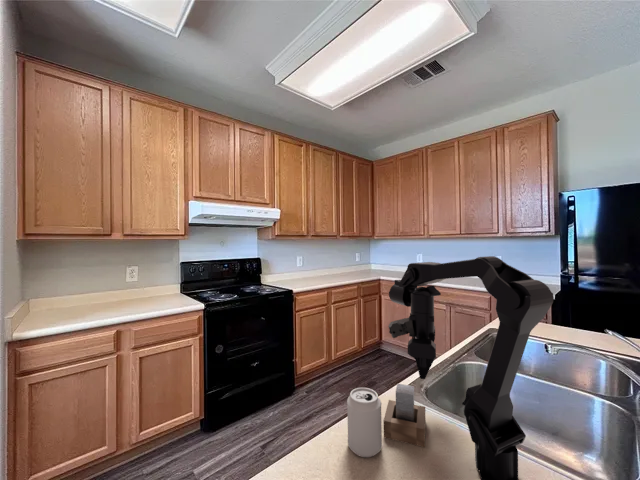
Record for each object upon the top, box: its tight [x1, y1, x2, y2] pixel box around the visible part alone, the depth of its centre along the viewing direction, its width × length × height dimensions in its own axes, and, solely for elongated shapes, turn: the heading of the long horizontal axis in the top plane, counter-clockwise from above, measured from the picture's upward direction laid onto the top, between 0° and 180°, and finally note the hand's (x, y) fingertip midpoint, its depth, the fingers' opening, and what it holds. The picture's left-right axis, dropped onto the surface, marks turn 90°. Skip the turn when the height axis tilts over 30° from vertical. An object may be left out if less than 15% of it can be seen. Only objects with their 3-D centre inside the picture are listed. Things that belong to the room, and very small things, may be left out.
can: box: [346, 387, 383, 458], centre depth 63 cm, size 8×8×12 cm
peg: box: [395, 383, 415, 423], centre depth 69 cm, size 4×4×10 cm
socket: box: [383, 399, 427, 448], centre depth 69 cm, size 9×9×4 cm
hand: (423, 370), depth 74 cm, fingers open, 9 cm apart
